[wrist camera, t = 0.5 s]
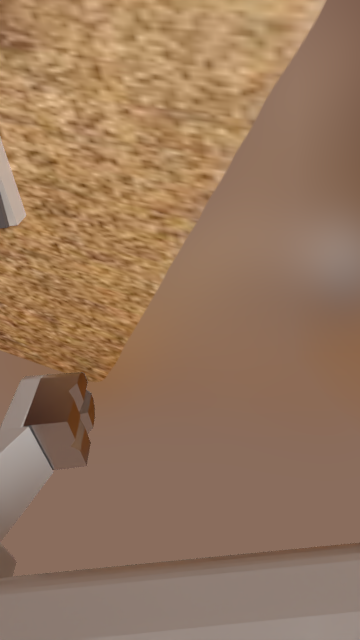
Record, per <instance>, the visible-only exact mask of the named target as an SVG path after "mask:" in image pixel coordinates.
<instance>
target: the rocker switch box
mask: <svg viewBox="0 0 360 640" xmlns="http://www.w3.org/2000/svg"><path fill="white" fill-rule="evenodd" d="M0 193H1V197H2V200H3V204H4V208H5V211H6V215H7V219H8V222H9V226H14V225H18V224H19V223H20V222H21V221H22V220H23V219H24V218H25V217H26V213H25V210H24V207H23V204H22V201H21V198H20V195H19V192H18V189H17V186H16V183H15V180H14V177H13V174H12V171H11V168H10V165H9V162H8V159H7V156H6V153H5V150H4V147H3V144H2V141H1V138H0Z"/></svg>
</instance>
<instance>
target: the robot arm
mask: <svg viewBox="0 0 360 640" xmlns="http://www.w3.org/2000/svg"><path fill="white" fill-rule="evenodd" d="M87 383H88V381H87V379H86V376H85V374H84V373H82V372H77V373H62V374H47V375H39V376H25V377H24V378H23V379H22V380H21V381H20V383H19V386H18V388H17V390H16V393H15V395H14V397H13V399H12V402H11V404H10V406H9V409H8V411H7V413H6V415H5V418H4V420H3V422H2V425H1V427H0V542H1V541H2V540H3V538H4V537H5V536H6V534H7V533H8V532H9V530H10V529H11V528H12V526H13V525H14V524H15V522H16V521H17V520H18V518H19V517H20V516H21V514H22V513H23V512H24V510H25V509H26V508H27V507H28V505H29V504H30V503H31V501H32V500H33V499H34V497H35V496H36V495H37V493H38V492H39V491H40V489H41V488H42V487H43V485H44V484H45V483H46V481H47V480H48V479H49V477H50V476H51V475H52V473H53V470H58V469H66V468H74V467H82V466H87V460H88V455H89V449H90V444H91V442H90V440H89V437H88V433H89V432H90V431H91V430H92V429H93V426H94V419H95V407H94V400H93V397H92V394H91V393H90V392H89V391H87V390H86V388H87ZM15 566H16V560H15V559H14V557H13V555H11V554H10V552H9V551H8V550H7V549H6V548H5V547H4V546H3V545H2V544H1V543H0V640H360V543H352V544H351V543H350V544H341V545H331V546H320V547H309V548H299V549H289V550H279V551H268V552H259V553H248V554H237V555H228V556H217V557H207V558H196V559H186V560H176V561H166V562H156V563H145V564H135V565H125V566H116V567H115V566H114V567H104V568H94V569H85V570H74V571H63V572H54V573H43V574H33V575H22V576H13V573H14V569H15Z"/></svg>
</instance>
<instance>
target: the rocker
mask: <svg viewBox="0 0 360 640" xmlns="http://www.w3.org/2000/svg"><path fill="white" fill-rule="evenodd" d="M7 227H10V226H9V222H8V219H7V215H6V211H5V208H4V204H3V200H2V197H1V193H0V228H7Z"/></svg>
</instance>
